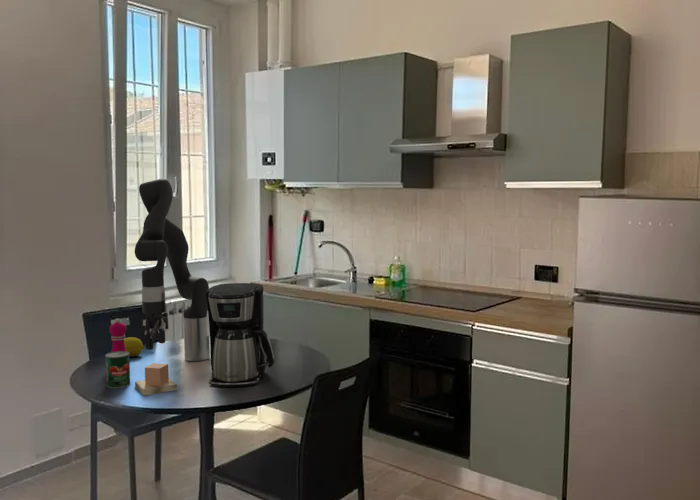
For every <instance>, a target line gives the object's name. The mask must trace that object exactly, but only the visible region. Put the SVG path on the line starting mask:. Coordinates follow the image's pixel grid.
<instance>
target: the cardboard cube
mask: <svg viewBox="0 0 700 500" xmlns="http://www.w3.org/2000/svg"><path fill="white" fill-rule="evenodd" d="M169 378H170V377H169V363H159V362H155V363H154V362H153V363H151V364H149V365H148V366H147V365H146V367H144V380H145V385H154V386H161V385H163V384H165V383H166V382H168V381H169Z"/></svg>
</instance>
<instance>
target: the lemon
mask: <svg viewBox="0 0 700 500" xmlns="http://www.w3.org/2000/svg"><path fill="white" fill-rule="evenodd" d="M124 345H125V348H126V350H127V352H129V358H130V357H131V358H133V357H137V356H139V355H141V353H142V352H143V349H144V347H145V346H144V345H143V342H142V340H141V339H140V338H137V337H134V336H133V337H132V336H130V337H129V336H128V337H125V339H124Z"/></svg>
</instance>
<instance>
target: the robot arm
mask: <svg viewBox="0 0 700 500" xmlns="http://www.w3.org/2000/svg"><path fill="white" fill-rule="evenodd" d="M138 191H139V192H138V193H139V196H140V199H141V202H142V204H143V205H144V207H145V209H146V211H147V213H148V214H147V215H146V217H145V219H144V221H143V228H142V233H141V235H140V237H139V238H138V240H137V242H136V244H135V247H134V255H135V256H134V257H135V258H136V259H137V260H138V261H140V262H156V265H154V266H152V267H147V268H144V269H143V270H142V271H141V285H142V286H141V287H142V288H141V304H142V305H141V306H142V308H141V309H142V314H144V315H145V316H146V318H145V319H141V320H140V334H141V335H140V337H141V338H143V339H145V350H151V351H152V350H153V349H154V342H153V341H154V339H153V336H154V334H155V333H156V330H157V332H158V333H157V334H158V335H157V336H158V341H157V342H158V344H165V343H166V332H167V330H168V329H169V318H168V316H169V315H168V314H169V313H168V312H166V311H167V306H166V305H167V303H166V302H167V301H166V290H165V281H164V278H165V277H164V276H165V275H164V274H165V273H164V272H165V264H166V261H168V263H169V266H170V268H171V271H172V275H173V277H174V281H175V285H176V288H177V291H178V293H179V295H180V297H182V298H183V299H185V300H189V301H191V302H190V303H191V304H190V307H188V308H186V309H184V310H183V314H182V315H183V343H184V346H183V347H184V361H187V362H201V361H205V360H208V359H211V355H210V334H208V307H207V299H206V291H207V290H208V289H209V288H210V286H209V282H208V280H207V279H206V278H204V277H198V276H192V274H191V272H190V271H189V267H188V263H187V261H188V255H189V250H190V249H189V248H190V247H189V243H188V241H187V238H186V236H185V232H184V231H183V230H182V229H181V228H180V226H178V225H177V224H176V223H175V222H173V221H172V220H170V219H169V218H168V214H169V212H170V208H171V205H172V202H173V199H174V193H173V192H174V191H173V187H172V184H171V183H170V181H169V180H168V179H166V178H158V179H154V180H150V181H145V182H142V183H141V184H140V185H139V186H138Z"/></svg>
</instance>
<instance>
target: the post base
mask: <svg viewBox="0 0 700 500" xmlns="http://www.w3.org/2000/svg"><path fill="white" fill-rule="evenodd" d="M134 383H135V385H134V386H135V387H134V388H135V389H137V391H139V393H141V394H142V395H143V396H144V397H145V396H149V395H151V396H152V395H156V394H162V393H168V392H172V391H178V384H177V383H176V382H175V381H174V380H172V379H171V378H170V377H169V381H168V382H166V383H165V384H163V385H161V386H154V385H145V379H144V380H138V381H137V380H136V381H134Z"/></svg>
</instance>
